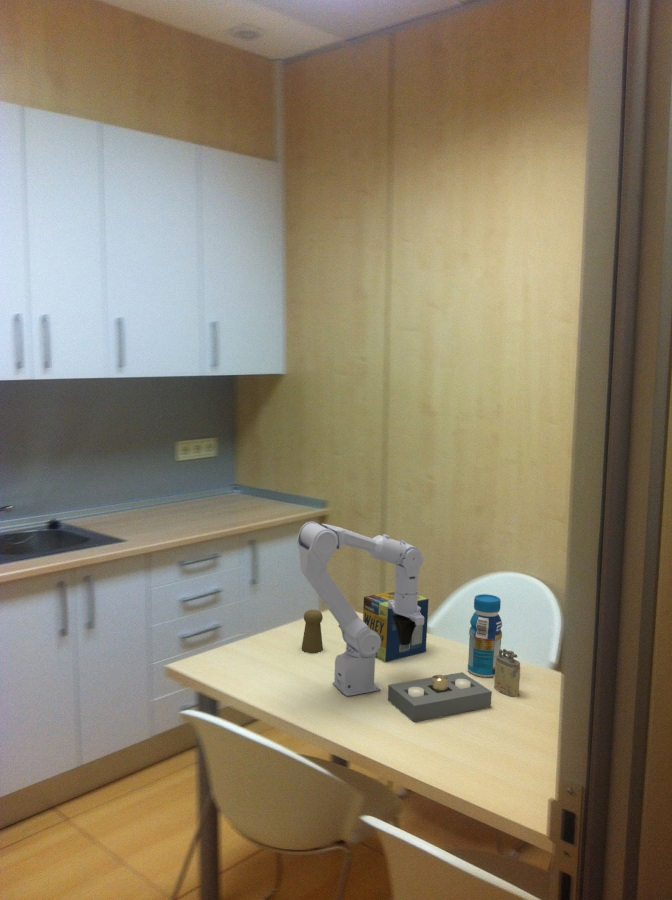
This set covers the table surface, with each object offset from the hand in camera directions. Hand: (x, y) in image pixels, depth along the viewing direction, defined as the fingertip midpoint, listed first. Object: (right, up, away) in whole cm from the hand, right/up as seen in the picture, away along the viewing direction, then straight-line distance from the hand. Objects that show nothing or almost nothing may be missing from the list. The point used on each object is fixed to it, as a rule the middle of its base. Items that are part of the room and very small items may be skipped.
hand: (404, 643), depth 191 cm
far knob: (+13, -11, -9) cm, 19 cm away
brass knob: (+7, -9, -12) cm, 17 cm away
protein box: (-1, -8, +20) cm, 22 cm away
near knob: (+1, -11, -15) cm, 18 cm away
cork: (-24, -7, +20) cm, 32 cm away
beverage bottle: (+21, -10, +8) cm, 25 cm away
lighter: (+25, -11, -4) cm, 27 cm away
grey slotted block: (+7, -11, -12) cm, 18 cm away
